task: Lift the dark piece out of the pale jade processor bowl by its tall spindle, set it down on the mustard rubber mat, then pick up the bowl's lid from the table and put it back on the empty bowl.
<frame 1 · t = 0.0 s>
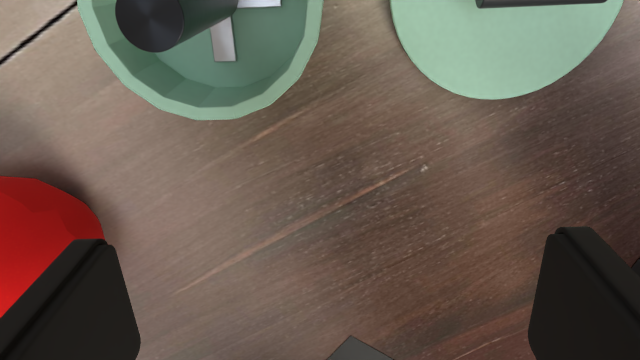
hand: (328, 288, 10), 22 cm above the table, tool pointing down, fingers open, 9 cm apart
tomato: (46, 225, 36), on the table
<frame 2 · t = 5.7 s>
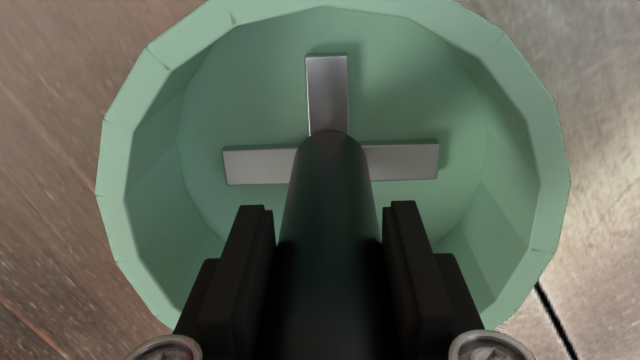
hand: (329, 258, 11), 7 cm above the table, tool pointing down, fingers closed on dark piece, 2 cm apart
bowl: (330, 154, 17), on the table
dark piece: (330, 159, 16), point 1 cm above the table, touching bowl, gripper
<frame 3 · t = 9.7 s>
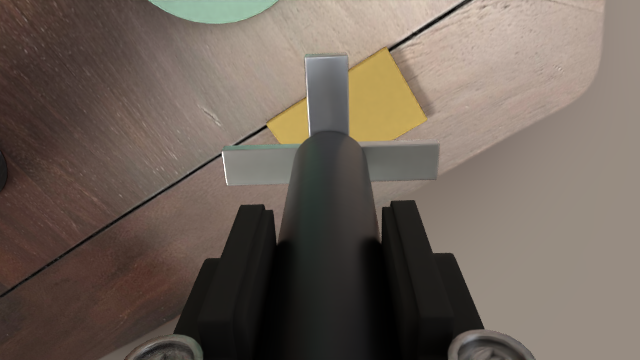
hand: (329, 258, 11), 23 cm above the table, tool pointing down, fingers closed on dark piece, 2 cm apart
dark piece: (330, 160, 16), point 17 cm above the table, touching gripper
mat: (346, 119, 33), on the table
when the fingers open (7 cm above the table, at t = 13.8 s): dark piece stays where it is, resting on mat.
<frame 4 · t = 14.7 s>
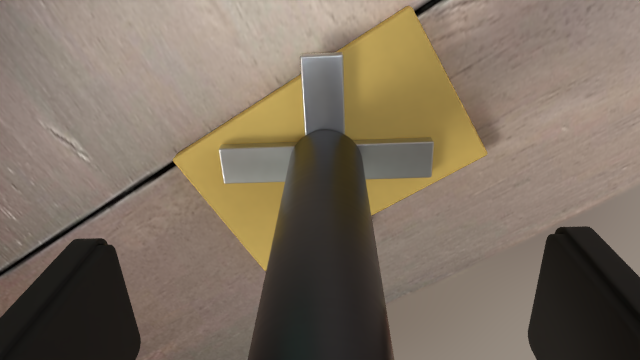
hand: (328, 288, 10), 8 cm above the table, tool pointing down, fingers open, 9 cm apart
dark piece: (326, 158, 17), point 1 cm above the table, touching mat
mat: (328, 151, 17), on the table
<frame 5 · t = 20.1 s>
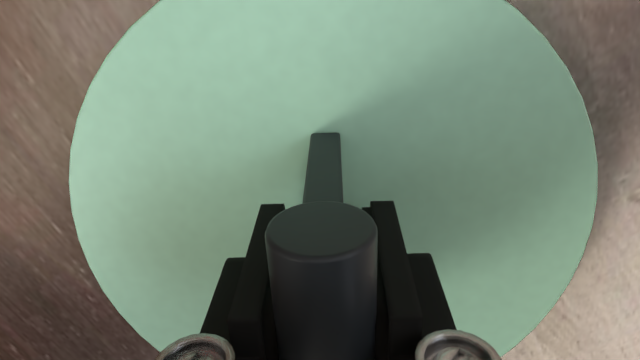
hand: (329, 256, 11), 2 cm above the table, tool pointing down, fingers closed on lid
lid: (329, 222, 13), point 1 cm above the table, touching gripper
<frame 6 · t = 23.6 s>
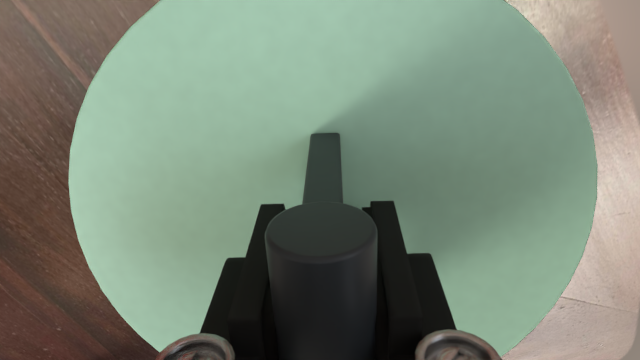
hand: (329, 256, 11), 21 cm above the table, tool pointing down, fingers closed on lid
lid: (329, 222, 13), point 19 cm above the table, touching gripper
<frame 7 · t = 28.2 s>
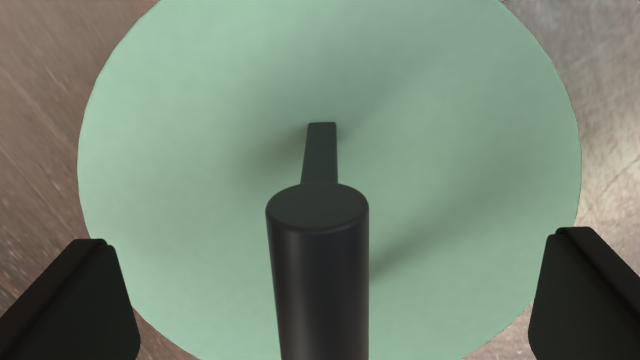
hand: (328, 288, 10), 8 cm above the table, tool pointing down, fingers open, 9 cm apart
lid: (326, 209, 13), point 5 cm above the table, touching bowl
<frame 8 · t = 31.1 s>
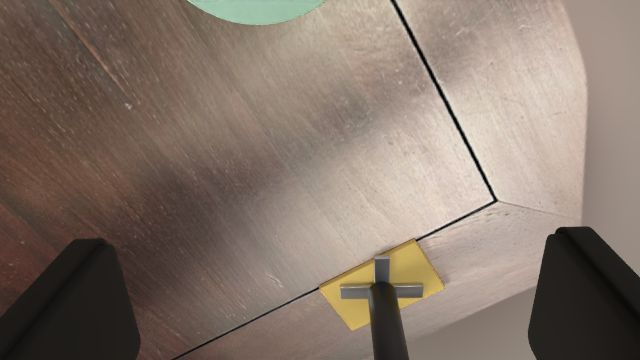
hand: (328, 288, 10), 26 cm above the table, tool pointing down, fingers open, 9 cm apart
dark piece: (381, 289, 42), point 1 cm above the table, touching mat
mat: (381, 284, 43), on the table
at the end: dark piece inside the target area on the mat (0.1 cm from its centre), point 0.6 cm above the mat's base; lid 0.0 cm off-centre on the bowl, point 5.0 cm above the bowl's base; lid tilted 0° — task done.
